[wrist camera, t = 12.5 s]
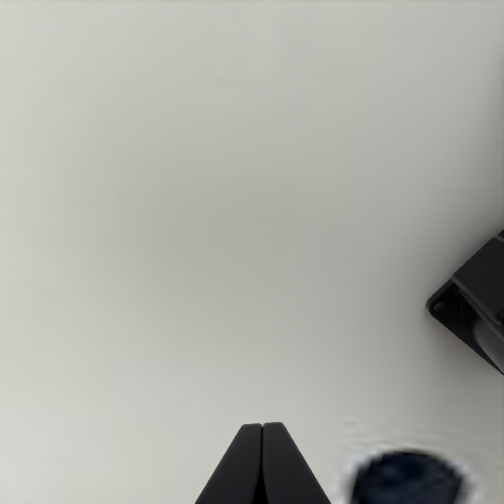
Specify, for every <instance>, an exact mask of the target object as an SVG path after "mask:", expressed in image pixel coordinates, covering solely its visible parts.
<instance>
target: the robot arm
mask: <svg viewBox="0 0 504 504" xmlns="http://www.w3.org/2000/svg"><path fill="white" fill-rule="evenodd" d="M437 304H442V306H441V307H440V308H439V309H434V307H435V306H436V305H437ZM426 308H427V310H428V311H429V312H430V314H431V315H432V316H433V317H434V318H436V319H437V320H438V321H439V322H440V323H442V324H443V325H444V326H445V327H446V328H448V329H449V330H450V331H451V332H452V333H454V334H455V335H456V336H457V337H458V338H460V339H461V340H462V341H463V342H464V343H466V344H467V345H468V346H469V347H470V348H472V349H473V350H474V351H475V352H476V353H478V354H479V355H480V356H481V357H482V358H484V359H485V360H486V361H487V362H488V363H490V364H491V365H492V366H493V367H494V368H496V369H497V370H498V371H499V372H500V373H502V374H503V375H504V230H503V231H502V232H501V233H500V234H499V235H498V236H497V237H493V238H492V239H491V240H490V241H489V242H488V243H486V244H485V245H484V246H483V247H482V248H481V249H480V250H479V251H478V252H477V253H476V254H475V255H473V256H472V257H471V258H470V259H469V260H468V261H467V262H466V263H465V264H464V265H463V266H462V267H461V268H459V269H458V270H457V271H456V272H455V273H454V274H453V277H452V278H451V279H450V280H449V281H448V282H447V283H446V284H445V285H444V286H442V287H441V288H440V289H439V290H438V291H437V292H436V293H435V294H434V295H433V296H432V297H431V298H429V300H428V301H427V304H426ZM195 504H331V502H330V501H329V499H328V497H327V496H326V494H325V492H324V491H323V489H322V487H321V486H320V484H319V482H318V481H317V479H316V477H315V476H314V474H313V472H312V471H311V469H310V467H309V466H308V464H307V462H306V461H305V459H304V457H303V456H302V454H301V452H300V451H299V449H298V447H297V446H296V444H295V442H294V441H293V439H292V437H291V436H290V434H289V432H288V431H287V429H286V427H285V426H284V424H283V423H281V422H271V423H264V424H263V427H262V425H261V424H260V423H255V424H244V425H242V426H241V428H240V430H239V431H238V433H237V434H236V436H235V438H234V439H233V441H232V443H231V444H230V446H229V448H228V449H227V451H226V453H225V454H224V456H223V458H222V459H221V461H220V463H219V464H218V466H217V467H216V469H215V471H214V472H213V474H212V476H211V477H210V479H209V481H208V482H207V484H206V486H205V487H204V489H203V491H202V492H201V494H200V496H199V497H198V499H197V500H196V502H195Z"/></svg>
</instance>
